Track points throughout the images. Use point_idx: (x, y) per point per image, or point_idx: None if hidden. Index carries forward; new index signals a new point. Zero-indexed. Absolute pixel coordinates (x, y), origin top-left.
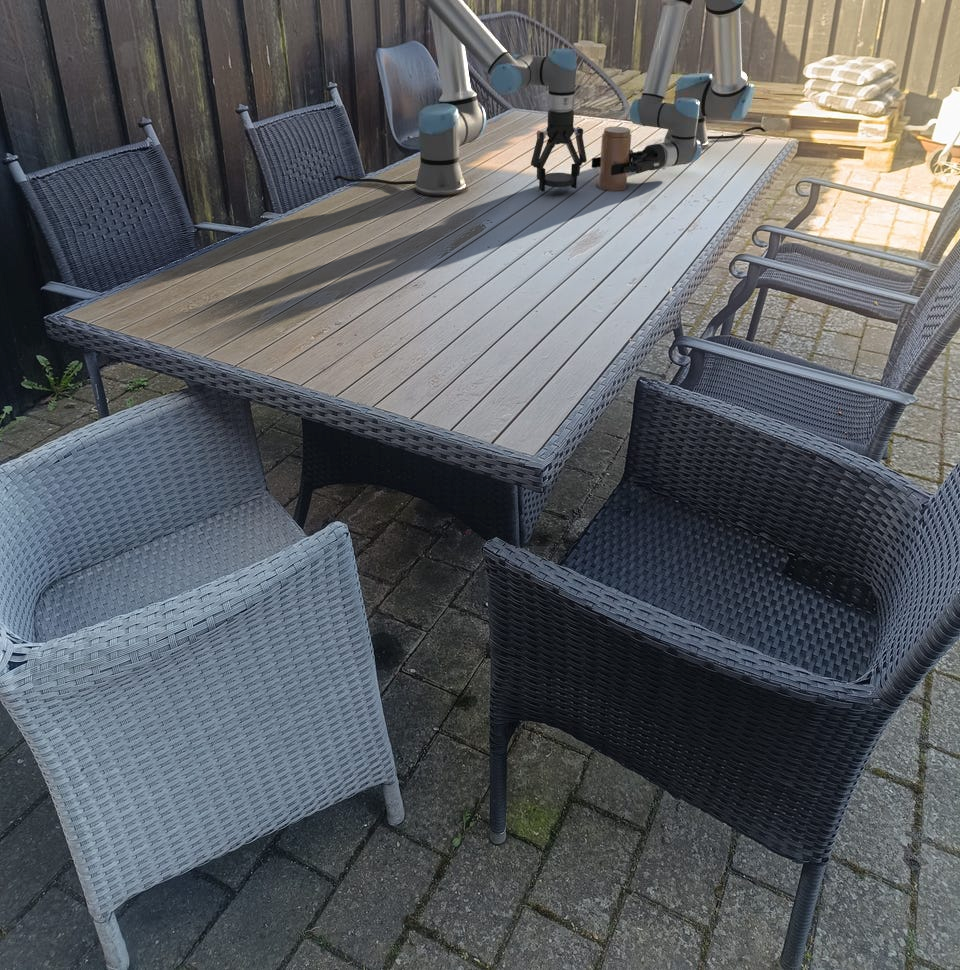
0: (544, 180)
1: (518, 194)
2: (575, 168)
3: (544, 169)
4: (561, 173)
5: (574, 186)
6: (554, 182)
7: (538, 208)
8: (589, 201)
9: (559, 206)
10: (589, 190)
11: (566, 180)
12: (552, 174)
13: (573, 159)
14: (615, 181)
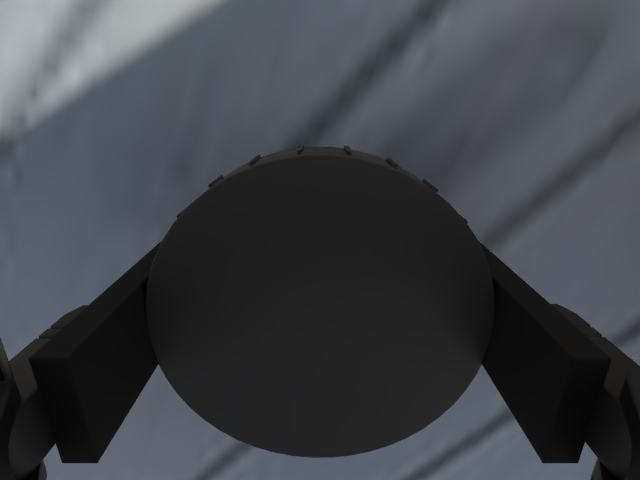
0: (152, 362)
1: (8, 190)
2: (532, 436)
3: (84, 460)
4: (414, 221)
5: None
6: (232, 429)
7: (109, 469)
8: (441, 445)
9: (238, 470)
10: (580, 260)
11: (348, 444)
12: (294, 225)
13: (633, 450)
14: None
